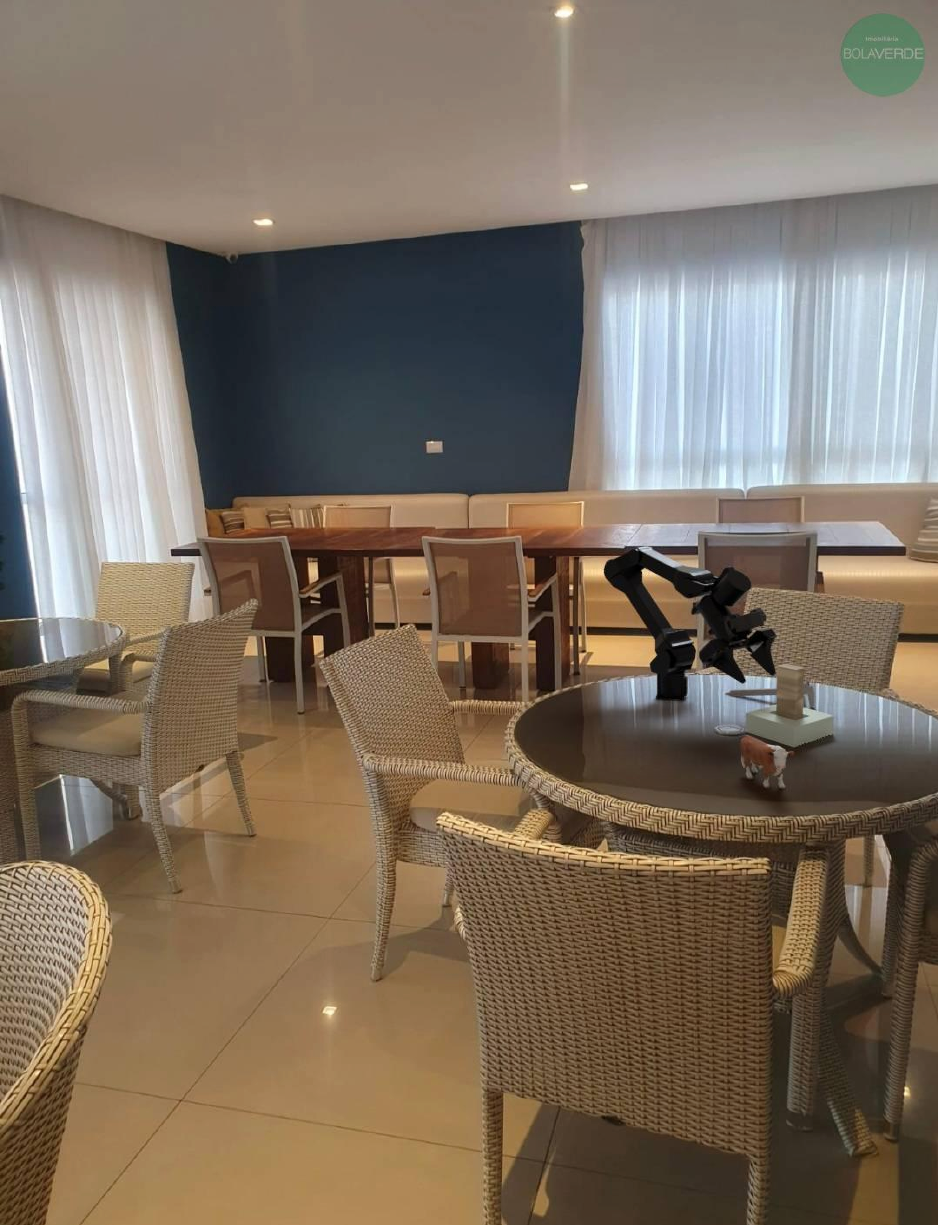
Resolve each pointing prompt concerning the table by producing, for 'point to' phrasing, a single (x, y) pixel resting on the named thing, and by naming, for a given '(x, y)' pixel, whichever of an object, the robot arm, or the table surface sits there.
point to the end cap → (789, 726)
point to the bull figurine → (763, 758)
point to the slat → (790, 691)
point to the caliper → (774, 693)
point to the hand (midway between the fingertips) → (759, 678)
